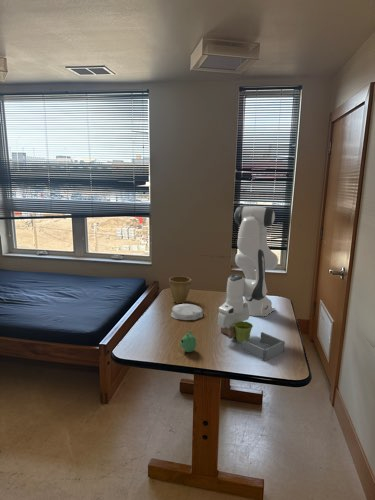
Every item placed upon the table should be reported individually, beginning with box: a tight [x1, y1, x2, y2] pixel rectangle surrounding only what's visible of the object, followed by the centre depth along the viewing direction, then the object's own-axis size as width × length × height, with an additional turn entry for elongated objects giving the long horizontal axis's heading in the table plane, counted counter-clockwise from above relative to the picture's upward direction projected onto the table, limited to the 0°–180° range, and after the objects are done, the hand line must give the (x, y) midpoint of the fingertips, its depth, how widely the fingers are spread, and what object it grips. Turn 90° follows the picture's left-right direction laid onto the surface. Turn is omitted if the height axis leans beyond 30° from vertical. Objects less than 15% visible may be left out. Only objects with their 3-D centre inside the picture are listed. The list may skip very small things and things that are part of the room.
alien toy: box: [179, 330, 197, 353], centre depth 162 cm, size 7×8×10 cm
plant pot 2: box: [234, 321, 254, 344], centre depth 174 cm, size 9×9×9 cm
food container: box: [170, 303, 204, 321], centre depth 208 cm, size 20×20×7 cm
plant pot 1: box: [168, 276, 192, 304], centre depth 229 cm, size 15×15×16 cm
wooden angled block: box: [220, 325, 236, 340], centre depth 180 cm, size 10×10×5 cm
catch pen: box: [241, 331, 286, 362], centre depth 164 cm, size 15×14×5 cm
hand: (233, 331), depth 179 cm, fingers closed on wooden angled block, 3 cm apart
